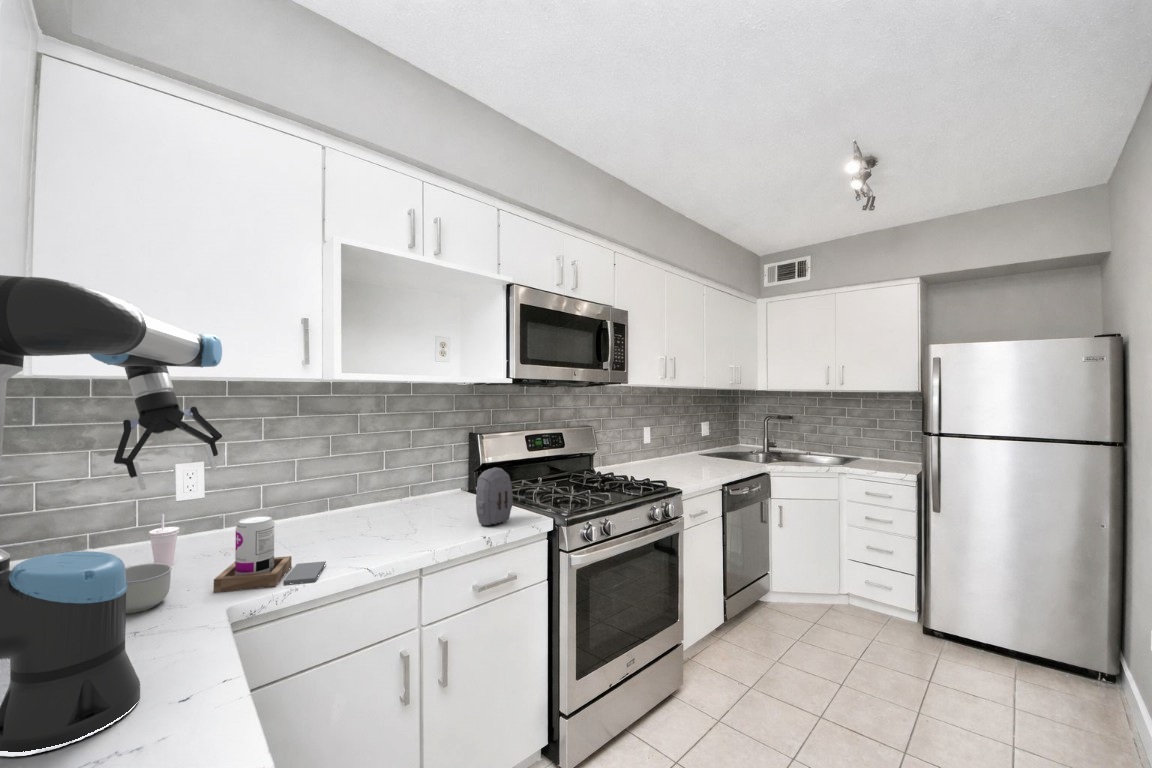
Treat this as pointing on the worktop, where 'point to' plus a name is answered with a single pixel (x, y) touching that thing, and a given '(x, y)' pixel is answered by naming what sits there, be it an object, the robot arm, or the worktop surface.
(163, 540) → the smoothie
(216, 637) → the worktop surface
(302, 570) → the rubber mat
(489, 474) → the soft grey pack
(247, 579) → the pocket frame
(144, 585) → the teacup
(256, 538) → the supplement can
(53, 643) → the robot arm
